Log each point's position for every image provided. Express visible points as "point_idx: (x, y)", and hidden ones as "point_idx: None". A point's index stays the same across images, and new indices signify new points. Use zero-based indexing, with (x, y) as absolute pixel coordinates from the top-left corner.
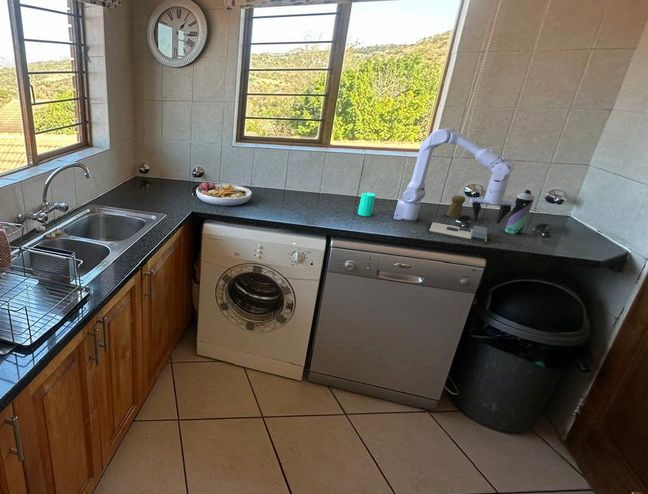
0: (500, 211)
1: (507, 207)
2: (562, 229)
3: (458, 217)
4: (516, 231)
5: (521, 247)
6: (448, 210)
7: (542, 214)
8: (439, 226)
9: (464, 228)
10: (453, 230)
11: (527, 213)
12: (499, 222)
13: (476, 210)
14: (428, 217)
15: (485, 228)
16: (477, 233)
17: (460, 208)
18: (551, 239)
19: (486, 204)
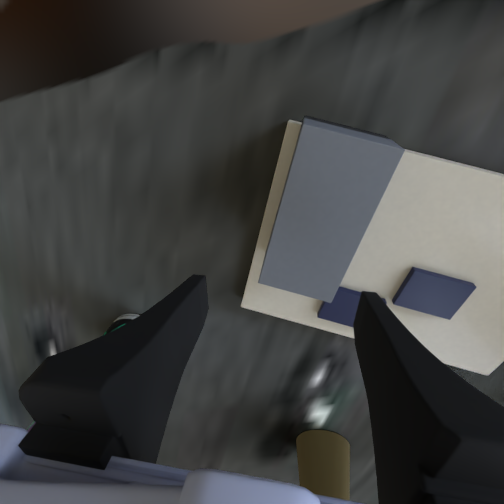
0: (163, 388)
1: (69, 430)
2: (19, 404)
3: (310, 440)
4: None
5: (106, 155)
6: (349, 482)
7: None
8: (490, 321)
9: (350, 317)
10: (435, 273)
11: (28, 428)
12: (189, 278)
13: (447, 376)
14: None
15: (273, 266)
16: (369, 137)
17: (312, 492)
18: (23, 317)
19: (331, 497)
